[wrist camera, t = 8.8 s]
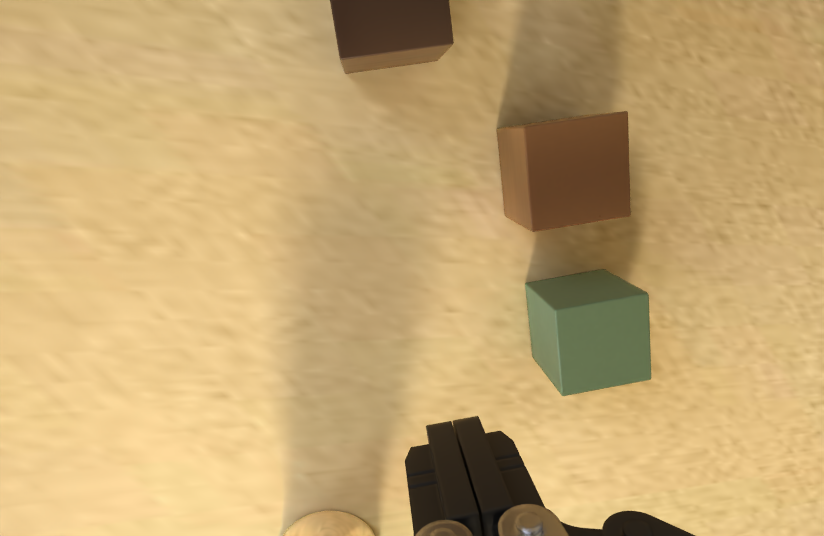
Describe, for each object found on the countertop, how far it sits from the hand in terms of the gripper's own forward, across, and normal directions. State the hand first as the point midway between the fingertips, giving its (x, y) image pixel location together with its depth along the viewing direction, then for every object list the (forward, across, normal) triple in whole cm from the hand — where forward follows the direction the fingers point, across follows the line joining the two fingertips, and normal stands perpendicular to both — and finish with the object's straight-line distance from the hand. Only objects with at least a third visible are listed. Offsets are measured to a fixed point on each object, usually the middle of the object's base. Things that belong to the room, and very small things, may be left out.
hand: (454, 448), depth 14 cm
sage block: (+13, -8, +3) cm, 16 cm away
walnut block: (+14, -1, -14) cm, 19 cm away
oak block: (+13, -8, -6) cm, 16 cm away
